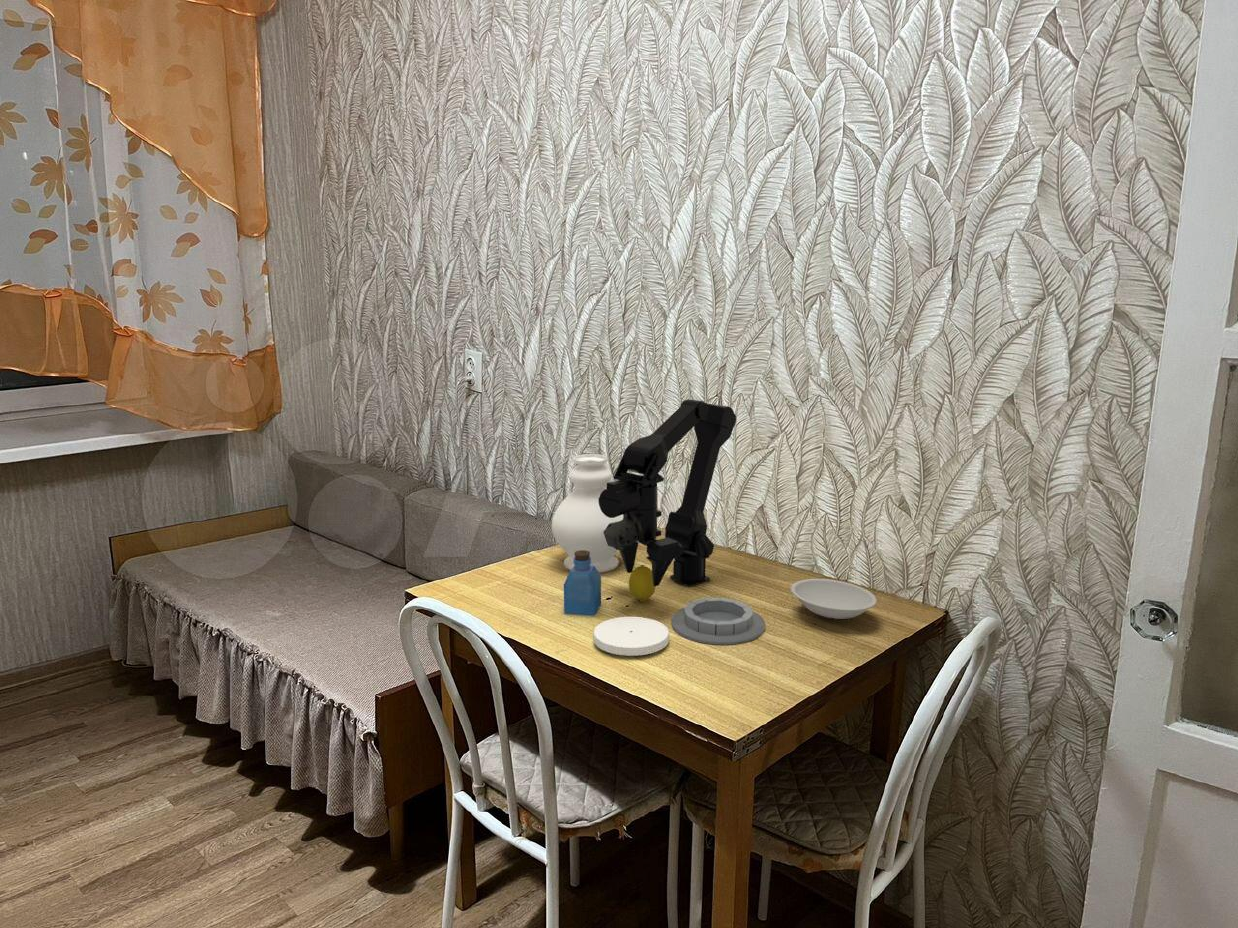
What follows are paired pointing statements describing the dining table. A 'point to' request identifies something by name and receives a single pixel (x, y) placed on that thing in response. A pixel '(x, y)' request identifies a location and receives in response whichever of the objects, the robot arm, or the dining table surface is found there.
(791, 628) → the dining table surface
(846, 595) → the dish
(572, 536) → the decorative vase
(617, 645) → the plastic lid
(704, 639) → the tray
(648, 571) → the lemon
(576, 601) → the perfume bottle
